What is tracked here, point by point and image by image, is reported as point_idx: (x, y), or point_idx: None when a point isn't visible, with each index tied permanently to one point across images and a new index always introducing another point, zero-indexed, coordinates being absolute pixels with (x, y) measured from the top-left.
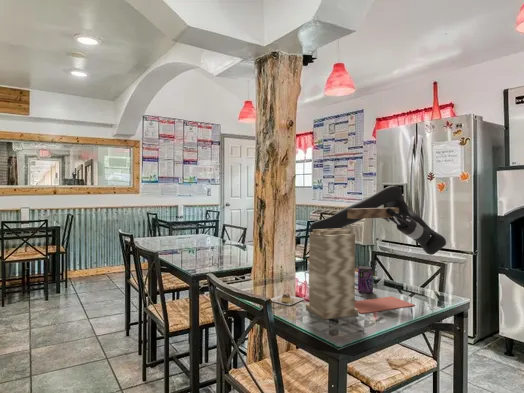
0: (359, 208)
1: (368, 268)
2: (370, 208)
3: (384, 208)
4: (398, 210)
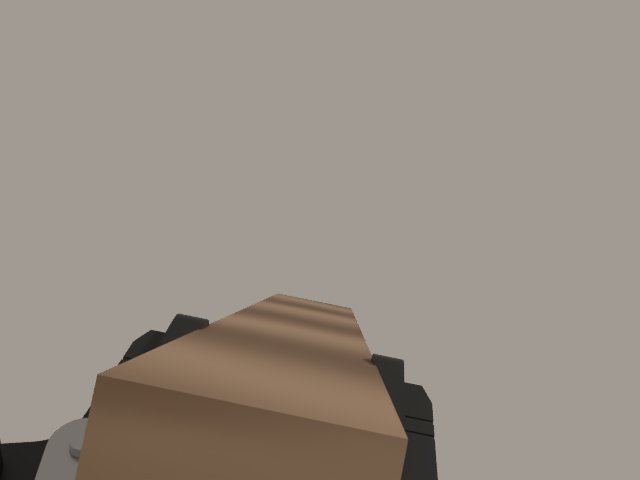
0: (349, 316)
1: None
2: (298, 315)
3: (219, 321)
4: (87, 450)
